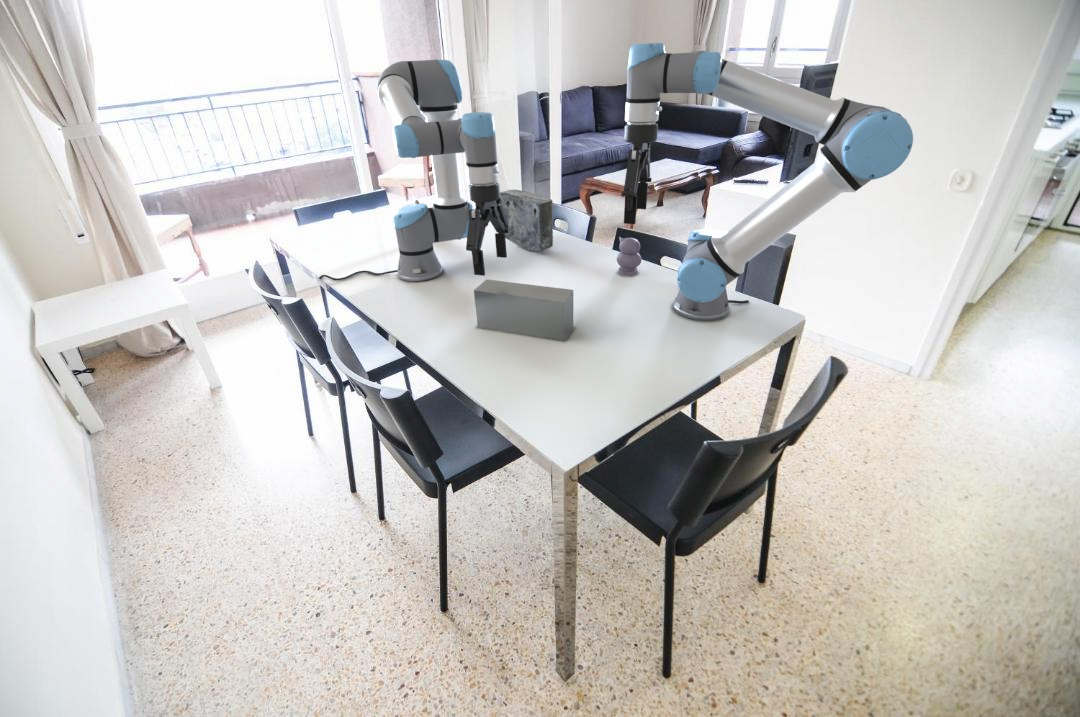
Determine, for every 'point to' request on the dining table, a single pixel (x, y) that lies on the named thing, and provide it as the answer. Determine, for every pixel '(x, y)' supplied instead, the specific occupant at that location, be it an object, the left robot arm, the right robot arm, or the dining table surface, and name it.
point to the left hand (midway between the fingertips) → (491, 265)
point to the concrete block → (528, 219)
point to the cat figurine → (628, 256)
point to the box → (524, 309)
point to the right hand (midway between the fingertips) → (635, 215)
